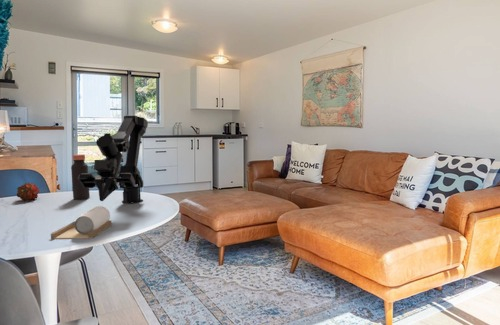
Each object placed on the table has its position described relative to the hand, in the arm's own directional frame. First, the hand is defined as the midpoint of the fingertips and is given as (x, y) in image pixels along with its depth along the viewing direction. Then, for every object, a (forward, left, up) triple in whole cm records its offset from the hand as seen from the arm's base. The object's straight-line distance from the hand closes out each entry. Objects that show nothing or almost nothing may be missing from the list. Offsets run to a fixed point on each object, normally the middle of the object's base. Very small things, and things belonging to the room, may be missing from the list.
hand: (101, 200), depth 124 cm
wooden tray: (+12, +7, -7) cm, 15 cm away
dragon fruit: (-4, -62, -7) cm, 63 cm away
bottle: (-18, -43, -7) cm, 47 cm away
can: (+4, +5, -4) cm, 7 cm away
